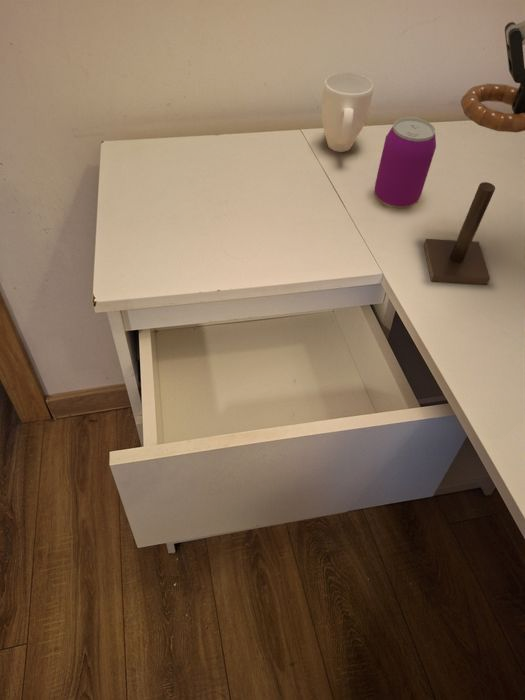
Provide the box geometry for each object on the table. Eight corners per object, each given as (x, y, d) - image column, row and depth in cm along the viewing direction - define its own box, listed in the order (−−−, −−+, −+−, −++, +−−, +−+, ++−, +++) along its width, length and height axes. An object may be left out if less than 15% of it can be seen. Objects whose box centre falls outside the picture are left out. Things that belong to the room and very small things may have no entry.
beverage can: (378, 178, 89) (394, 110, 80) (422, 189, 87) (444, 121, 78) (368, 203, 84) (383, 134, 75) (414, 215, 83) (436, 146, 73)
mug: (317, 132, 98) (324, 70, 89) (360, 135, 98) (372, 72, 89) (316, 168, 91) (324, 103, 82) (363, 171, 90) (376, 107, 81)
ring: (527, 99, 67) (534, 83, 65) (547, 138, 61) (556, 121, 59) (453, 94, 67) (459, 78, 66) (467, 132, 61) (473, 115, 60)
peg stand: (476, 247, 78) (511, 170, 68) (487, 284, 73) (527, 207, 63) (423, 244, 78) (450, 167, 68) (431, 281, 74) (461, 203, 63)
